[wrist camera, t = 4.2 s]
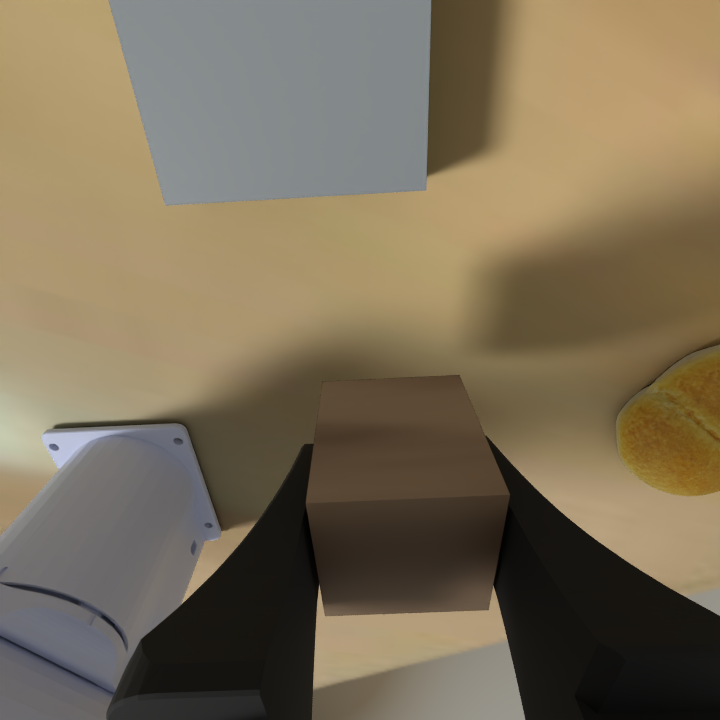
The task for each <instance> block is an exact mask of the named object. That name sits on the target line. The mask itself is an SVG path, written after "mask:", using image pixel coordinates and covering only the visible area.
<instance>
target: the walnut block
mask: <svg viewBox="0 0 720 720" xmlns="http://www.w3.org/2000/svg"><path fill="white" fill-rule="evenodd" d="M509 498H510V493H509V491H508V489H507V486H506V484H505V481H504V479H503V477H502V474H501V472H500V470H499V467H498V465H497V463H496V460H495V458H494V456H493V453H492V451H491V449H490V446H489V444H488V442H487V439H486V437H485V434H484V432H483V430H482V427H481V425H480V423H479V420H478V418H477V416H476V413H475V411H474V409H473V406H472V404H471V402H470V399H469V397H468V394H467V392H466V390H465V387H464V385H463V383H462V380H461V378H460V376H459V375H449V376H428V377H408V378H387V379H367V380H346V381H325V382H322V388H321V395H320V403H319V410H318V417H317V424H316V432H315V439H314V446H313V454H312V461H311V468H310V475H309V483H308V490H307V497H306V508H307V514H308V520H309V526H310V532H311V537H312V543H313V549H314V555H315V561H316V566H317V572H318V578H319V584H320V590H321V595H322V601H323V607H324V613H325V616H343V615H370V614H397V613H424V612H450V611H477V610H489V605H490V600H491V594H492V589H493V583H494V578H495V573H496V567H497V562H498V557H499V551H500V546H501V541H502V535H503V530H504V525H505V519H506V514H507V508H508V503H509Z"/></svg>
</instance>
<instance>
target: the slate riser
mask: <svg viewBox="0 0 720 720" xmlns="http://www.w3.org/2000/svg"><path fill="white" fill-rule="evenodd" d="M109 4H110V7H111V11H112V15H113V18H114V22H115V25H116V29H117V33H118V36H119V40H120V44H121V47H122V51H123V54H124V58H125V62H126V65H127V69H128V72H129V76H130V80H131V83H132V87H133V90H134V94H135V98H136V101H137V105H138V109H139V112H140V116H141V119H142V123H143V127H144V130H145V134H146V137H147V141H148V145H149V148H150V152H151V155H152V159H153V163H154V166H155V170H156V174H157V177H158V181H159V184H160V188H161V192H162V195H163V199H164V202H165V206H166V205H183V204H200V203H218V202H235V201H252V200H269V199H287V198H304V197H321V196H338V195H355V194H373V193H390V192H407V191H424V190H426V182H427V144H428V106H429V68H430V30H431V0H109Z"/></svg>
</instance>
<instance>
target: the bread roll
mask: <svg viewBox="0 0 720 720" xmlns="http://www.w3.org/2000/svg"><path fill="white" fill-rule="evenodd" d="M616 441H617V449H618V452H619V455H620V458H621V460H622V462H623V463H624V465H625V466H626V467H627V469H628V470H629V471H630V472H631V473H633V474H634V475H635V476H637V477H638V478H639V479H640V480H642V481H643V482H645V483H647V484H648V485H650V486H652V487H653V488H656V489H658V490H661V491H664V492H667V493H671V494H674V495H682V496H699V495H706V494H710V493H714V492H718V491H720V345H716V346H712V347H709V348H706V349H703V350H700V351H696V352H693V353H692V354H690V355H688V356H686V357H684V358H682V359H681V360H680V361H678V362H677V363H675V364H674V365H673V366H671V367H670V368H669V369H667V370H666V371H665V372H664V373H663V374H662V375H661V376H659V377H658V378H657V379H656V380H655V382H654V383H653V384H652V385H650V386H649V387H646V388H644V389H643V390H641V391H639V392H638V393H637V394H635V395H634V396H633V397H632V398H631V399H630V400H629V401H628V402H627V403H626V404H625V405H624V407H623V408H622V410H621V411H620V412H619V414H618V416H617V419H616Z"/></svg>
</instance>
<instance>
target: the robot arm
mask: <svg viewBox="0 0 720 720" xmlns="http://www.w3.org/2000/svg"><path fill="white" fill-rule="evenodd" d="M485 437H486V439H487V442H488V444H489V446H490V449H491V451H492V453H493V456H494V458H495V460H496V463H497V465H498V467H499V470H500V472H501V474H502V477H503V479H504V481H505V484H506V486H507V489H508V491H509V493H510V498H509V503H508V508H507V514H506V519H505V525H504V530H503V535H502V541H501V546H500V551H499V557H498V562H497V567H496V573H495V578H494V583H493V585H494V588H495V592H496V595H497V598H498V602H499V606H500V610H501V614H502V618H503V622H504V626H505V630H506V635H507V639H508V643H509V647H510V652H511V656H512V660H513V664H514V669H515V673H516V678H517V683H518V687H519V692H520V696H521V701H522V705H523V710H524V714H525V720H720V616H719V615H717V614H715V613H713V612H712V611H710V610H708V609H706V608H704V607H702V606H701V605H699V604H697V603H695V602H693V601H692V600H690V599H688V598H686V597H684V596H683V595H681V594H679V593H677V592H675V591H673V590H672V589H670V588H668V587H667V586H665V585H663V584H662V583H660V582H658V581H657V580H655V579H654V578H652V577H650V576H649V575H647V574H645V573H644V572H642V571H640V570H639V569H637V568H636V567H634V566H633V565H631V564H630V563H628V562H627V561H625V560H624V559H622V558H621V557H619V556H618V555H617V554H615V553H614V552H612V551H611V550H609V549H608V548H606V547H605V546H604V545H602V544H601V543H599V542H598V541H597V540H595V539H594V538H593V537H591V536H590V535H589V534H587V533H586V532H585V531H583V530H582V529H581V528H580V527H578V526H577V525H576V524H575V523H573V522H572V521H571V520H570V519H568V518H567V517H566V516H565V515H564V514H563V513H561V512H560V511H559V510H558V509H557V508H556V507H555V506H554V505H553V504H551V503H550V502H549V501H548V500H547V499H546V498H545V497H544V496H543V495H542V494H541V493H540V492H539V491H538V490H537V489H535V488H534V487H533V486H532V485H531V483H530V482H529V481H528V480H527V479H526V478H525V477H524V476H523V475H522V474H521V473H520V472H519V471H518V470H517V469H516V468H515V467H514V466H513V465H512V464H511V463H510V462H509V460H508V459H507V458H506V457H505V456H504V455H503V454H502V453H501V452H500V450H499V449H498V448H497V447H496V446H495V445H494V444H493V443H492V441H491V440H490V439H489V438H488V437H487V436H485ZM177 438H180V439H182V440H179V439H177ZM41 439H42V441H43V443H44V445H45V447H46V448H47V450H48V452H49V453H50V455H51V457H52V459H53V460H54V462H55V464H56V466H57V467H58V469H59V470H58V471H57V473H56V474H55V475H54V476H53V477H52V478H51V479H50V480H49V482H48V483H47V484H46V485H45V486H44V487H43V488H42V489H41V491H40V492H39V493H38V494H37V495H36V496H35V497H34V499H33V500H32V501H31V502H30V503H29V504H28V505H27V506H26V508H25V509H24V510H23V511H22V512H21V513H20V514H19V515H18V517H17V518H16V519H15V520H14V521H13V522H12V523H11V525H10V526H9V527H8V528H7V529H6V530H5V531H4V532H3V534H2V535H1V536H0V720H312V697H313V695H312V694H313V672H314V650H315V630H316V612H317V599H318V589H319V578H318V572H317V566H316V561H315V555H314V549H313V543H312V537H311V532H310V526H309V520H308V514H307V508H306V497H307V490H308V483H309V475H310V468H311V461H312V454H313V446H314V444H304V445H303V446H302V448H301V450H300V452H299V454H298V456H297V458H296V460H295V462H294V464H293V466H292V468H291V470H290V472H289V473H288V475H287V477H286V479H285V480H284V482H283V484H282V485H281V487H280V489H279V490H278V492H277V494H276V495H275V497H274V498H273V500H272V501H271V503H270V504H269V506H268V507H267V509H266V510H265V512H264V513H263V514H262V516H261V517H260V519H259V520H258V522H257V523H256V524H255V526H254V527H253V528H252V530H251V531H250V532H249V533H248V535H247V536H246V537H245V538H244V540H243V541H242V542H241V543H240V545H239V546H238V547H237V548H236V549H235V550H234V551H233V553H232V554H231V555H230V556H229V557H228V558H227V559H226V561H225V562H224V563H223V564H222V565H221V566H220V567H219V568H218V569H217V570H216V571H215V572H214V573H213V574H212V576H211V577H210V578H208V579H207V580H206V581H205V582H204V583H203V584H202V585H201V586H200V587H199V588H198V589H197V590H196V591H195V592H194V593H193V594H192V595H191V596H190V597H189V598H188V599H187V600H186V601H185V602H184V603H183V604H182V601H183V598H184V595H185V593H186V590H187V587H188V585H189V582H190V579H191V577H192V574H193V571H194V569H195V566H196V563H197V561H198V558H199V555H200V553H201V550H202V547H203V545H204V542H205V541H206V540H217V539H219V538H220V535H221V528H220V525H219V522H218V519H217V517H216V514H215V511H214V508H213V505H212V502H211V499H210V496H209V493H208V490H207V487H206V484H205V481H204V478H203V475H202V473H201V470H200V467H199V464H198V461H197V458H196V455H195V452H194V449H193V446H192V443H191V440H190V437H189V434H188V431H187V429H186V427H184V426H183V425H181V424H177V423H172V424H151V425H129V426H107V427H85V428H64V429H49V430H46V431H45V432H44V433H43V434H42V435H41ZM181 604H182V605H181Z"/></svg>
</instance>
